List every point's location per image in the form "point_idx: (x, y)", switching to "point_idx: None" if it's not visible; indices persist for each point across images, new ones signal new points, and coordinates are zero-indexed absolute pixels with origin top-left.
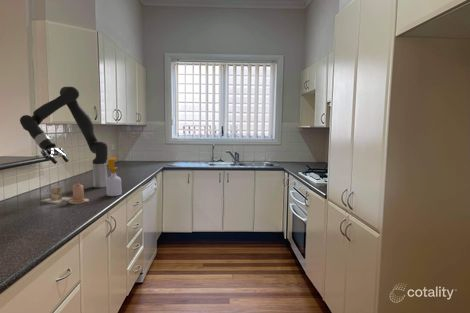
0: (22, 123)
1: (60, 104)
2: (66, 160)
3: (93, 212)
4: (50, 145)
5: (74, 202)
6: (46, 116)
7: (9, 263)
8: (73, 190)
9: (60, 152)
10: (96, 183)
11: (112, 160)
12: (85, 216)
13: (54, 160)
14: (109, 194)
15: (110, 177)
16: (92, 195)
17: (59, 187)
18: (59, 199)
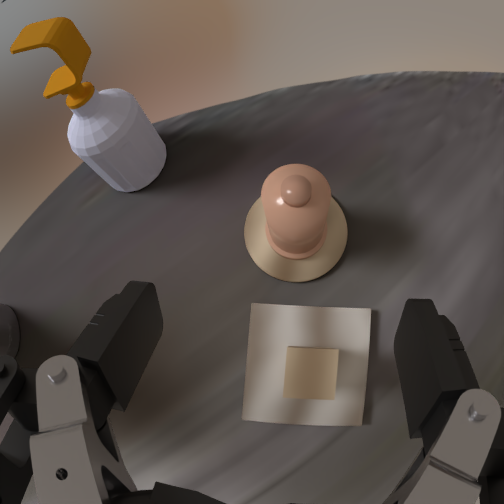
0: None
1: None
2: (152, 314)
3: (410, 86)
4: None
5: (337, 224)
6: None
7: None
8: (326, 216)
9: (89, 454)
10: (5, 336)
11: (62, 25)
12: (450, 89)
13: (442, 335)
14: (163, 158)
15: (110, 109)
16: (157, 253)
17: (301, 352)
18: (313, 343)
